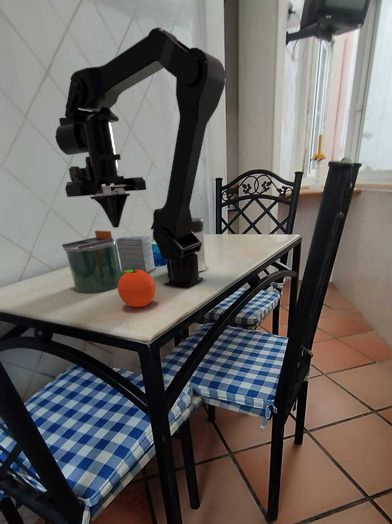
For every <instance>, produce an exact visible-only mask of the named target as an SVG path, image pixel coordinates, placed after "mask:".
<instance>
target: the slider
mask: <svg viewBox="0 0 392 524" xmlns="http://www.w3.org/2000/svg"><path fill="white" fill-rule="evenodd" d="M94 234H95V237H96V238H95V239H91V240H86V241H82V242H81V243H83V244H87V243H92V242H96V241H101V240H105V239H109V238H113V236H112V231H111V230H94Z"/></svg>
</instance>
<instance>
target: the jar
mask: <svg viewBox="0 0 392 524" xmlns="http://www.w3.org/2000/svg"><path fill="white" fill-rule="evenodd" d="M204 226H205V225H204V219H203V218H201V217H192V232H193V233H194V234H195V235H196V236H197V237H198V238H199V239H200V240H201V242H202V246H201V250H200V251H199V252H196V253H195V254H197V255H198V270H199V272H203V271H206V270H207V269H206V254H205V252H206V251H205V233H204V232H205V231H204Z"/></svg>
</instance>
